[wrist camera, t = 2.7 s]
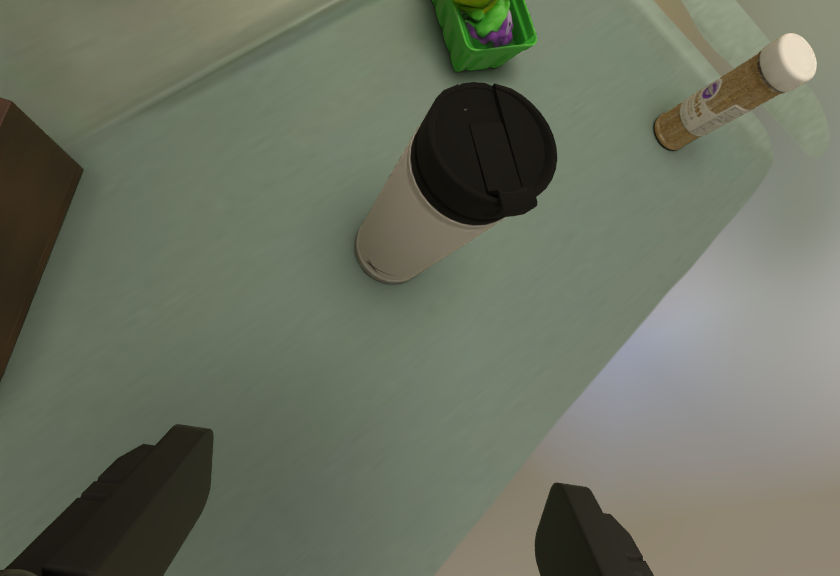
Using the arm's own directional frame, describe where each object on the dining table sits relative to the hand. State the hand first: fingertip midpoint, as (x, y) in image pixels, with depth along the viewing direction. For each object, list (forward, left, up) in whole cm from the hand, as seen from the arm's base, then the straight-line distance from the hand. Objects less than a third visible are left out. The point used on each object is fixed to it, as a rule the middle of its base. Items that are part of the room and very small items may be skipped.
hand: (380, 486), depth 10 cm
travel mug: (-5, +13, -25) cm, 28 cm away
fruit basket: (-17, +34, -25) cm, 45 cm away
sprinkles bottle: (+6, +48, -25) cm, 54 cm away
